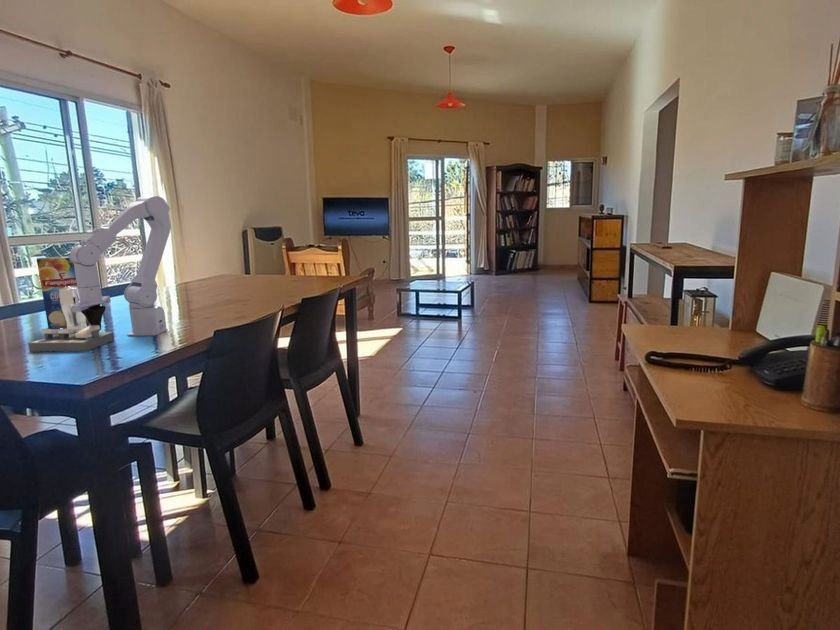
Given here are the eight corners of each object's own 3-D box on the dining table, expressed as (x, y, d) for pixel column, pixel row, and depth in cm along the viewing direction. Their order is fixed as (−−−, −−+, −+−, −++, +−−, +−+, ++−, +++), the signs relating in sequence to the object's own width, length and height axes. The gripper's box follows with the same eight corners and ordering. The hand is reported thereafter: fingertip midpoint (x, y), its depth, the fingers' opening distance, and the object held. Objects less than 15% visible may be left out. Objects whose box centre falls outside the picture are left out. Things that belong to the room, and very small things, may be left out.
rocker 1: (68, 333, 155) (68, 329, 156) (50, 333, 148) (50, 328, 149) (59, 334, 156) (59, 329, 156) (41, 333, 149) (41, 329, 149)
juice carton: (48, 330, 174) (36, 259, 169) (48, 326, 180) (37, 257, 175) (90, 325, 180) (79, 256, 176) (88, 321, 187) (78, 255, 182)
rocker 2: (100, 328, 155) (99, 324, 155) (85, 337, 148) (84, 333, 148) (91, 328, 155) (90, 325, 155) (75, 337, 149) (74, 333, 148)
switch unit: (114, 339, 159) (112, 325, 158) (85, 351, 146) (83, 335, 145) (62, 340, 159) (60, 326, 158) (29, 351, 147) (26, 336, 146)
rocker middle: (84, 333, 155) (84, 329, 155) (67, 333, 148) (67, 328, 148) (75, 333, 155) (75, 329, 155) (57, 333, 148) (58, 328, 148)
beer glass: (95, 330, 173) (88, 285, 170) (79, 335, 166) (72, 289, 163) (76, 330, 174) (69, 286, 170) (59, 335, 167) (52, 289, 164)
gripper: (92, 282, 160) (98, 324, 163) (58, 290, 145) (66, 336, 148) (114, 282, 159) (120, 324, 162) (82, 290, 145) (90, 336, 148)
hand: (96, 330), depth 155 cm, fingers closed, pressing on rocker 2
